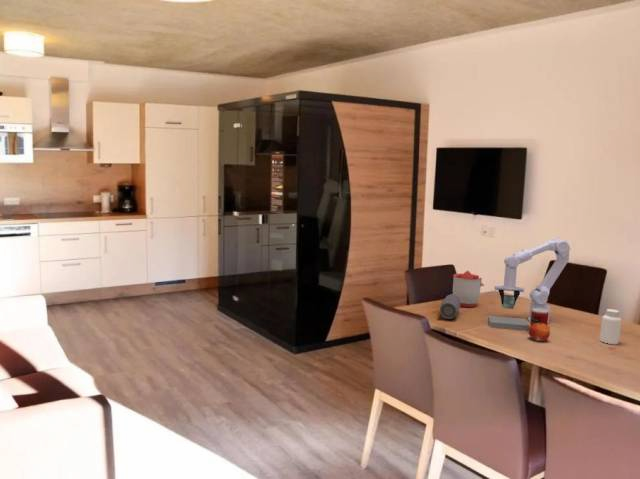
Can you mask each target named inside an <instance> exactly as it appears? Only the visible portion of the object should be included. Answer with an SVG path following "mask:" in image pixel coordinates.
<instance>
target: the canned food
mask: <svg viewBox="0 0 640 479" xmlns="http://www.w3.org/2000/svg"><path fill="white" fill-rule="evenodd" d="M548 314H549V311H548V310H546V309H541V308H533V309H532V311H531V322H530V321H529V322H530V323H529V327H530V326H531V325H532V324H534V323H544V324H546V325H547V326H549V325H548V324H549V323H548Z"/></svg>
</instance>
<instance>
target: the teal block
mask: <svg viewBox="0 0 640 479" xmlns="http://www.w3.org/2000/svg"><path fill="white" fill-rule="evenodd" d="M501 305H502V304H501ZM514 307H515V305H514V294H513V295H512V294H504V303H503V305H502V308H503V309H507V310H508V309H510V310H514Z"/></svg>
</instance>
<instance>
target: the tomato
mask: <svg viewBox="0 0 640 479" xmlns="http://www.w3.org/2000/svg"><path fill="white" fill-rule="evenodd" d="M550 334H551V329H550V327H549V325H546V324H544V323H534V324H532V325H531V326H530V325H529V331H528V335H529V336H530V337H531V339H533V340H534V341H537V342H544V341H547V340H548V339H549V337H550Z"/></svg>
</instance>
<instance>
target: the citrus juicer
mask: <svg viewBox="0 0 640 479" xmlns="http://www.w3.org/2000/svg"><path fill="white" fill-rule="evenodd" d="M482 279H483V278H482V277H480V276H479V275H477V274H472V273H471V272H470V271H469V270H466V271H464V273H454V274H453V282H452V294H455V295H457V296H458V297H459V299H460V302H461V303H460V307H462V308H475V307H476V306H477V304H479V302H478V301H479V299H480V295H481V287H484V286H485V284H484V283H483V282H482Z"/></svg>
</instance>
